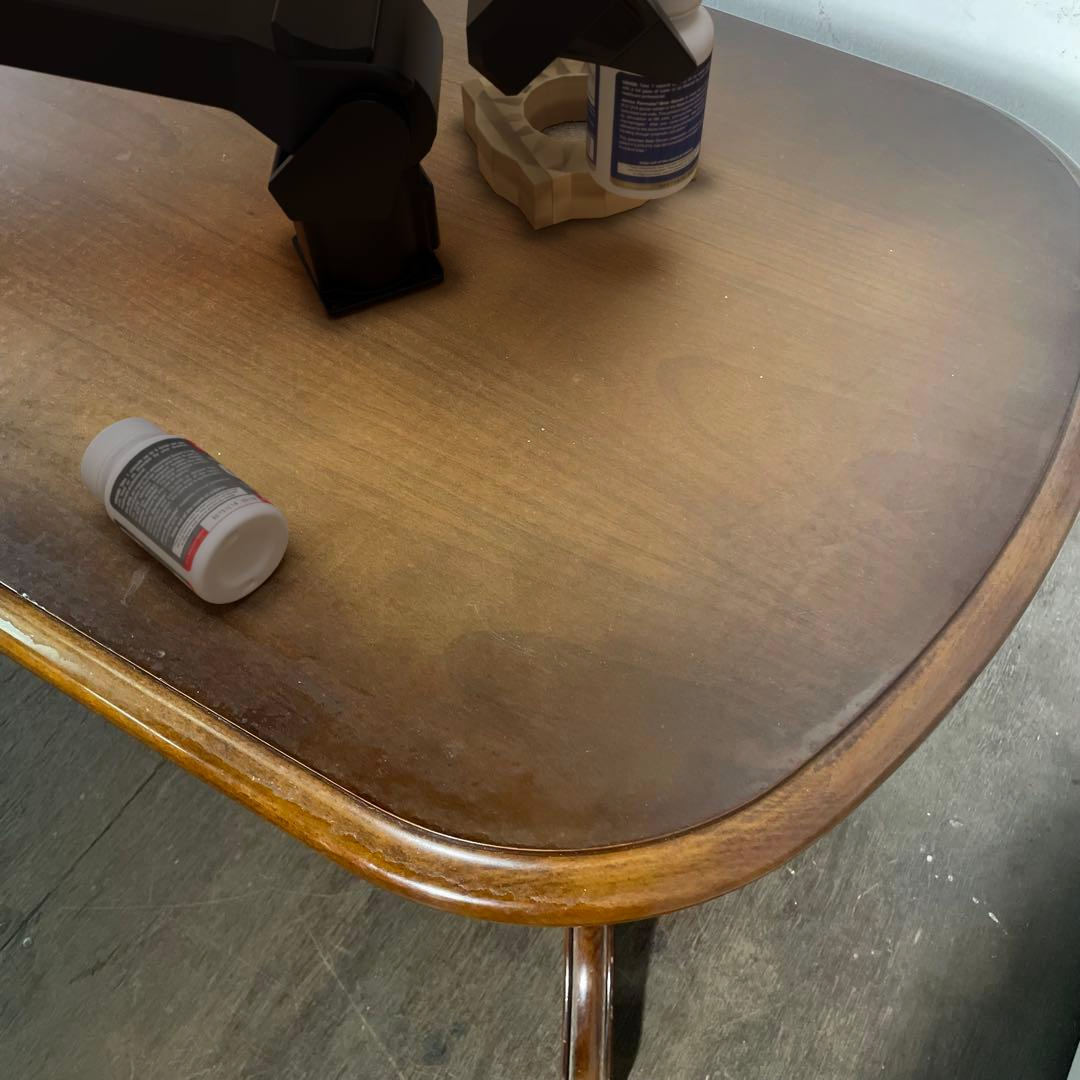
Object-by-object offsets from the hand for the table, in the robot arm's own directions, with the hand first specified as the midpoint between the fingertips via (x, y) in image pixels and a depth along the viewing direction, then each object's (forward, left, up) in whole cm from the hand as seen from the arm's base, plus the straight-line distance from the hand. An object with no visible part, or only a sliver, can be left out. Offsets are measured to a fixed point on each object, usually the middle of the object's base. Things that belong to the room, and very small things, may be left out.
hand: (683, 37), depth 45 cm
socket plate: (0, +10, -12) cm, 16 cm away
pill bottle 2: (-1, +1, -7) cm, 7 cm away
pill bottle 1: (-25, -11, -10) cm, 29 cm away
